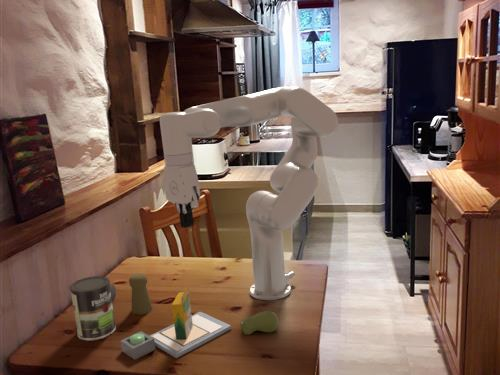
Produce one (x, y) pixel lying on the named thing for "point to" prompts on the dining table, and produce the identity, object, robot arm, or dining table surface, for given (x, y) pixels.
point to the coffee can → (93, 308)
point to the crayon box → (182, 315)
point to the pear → (260, 322)
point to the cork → (140, 294)
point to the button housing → (138, 346)
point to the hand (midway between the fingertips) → (187, 226)
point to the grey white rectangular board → (190, 335)
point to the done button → (137, 339)
